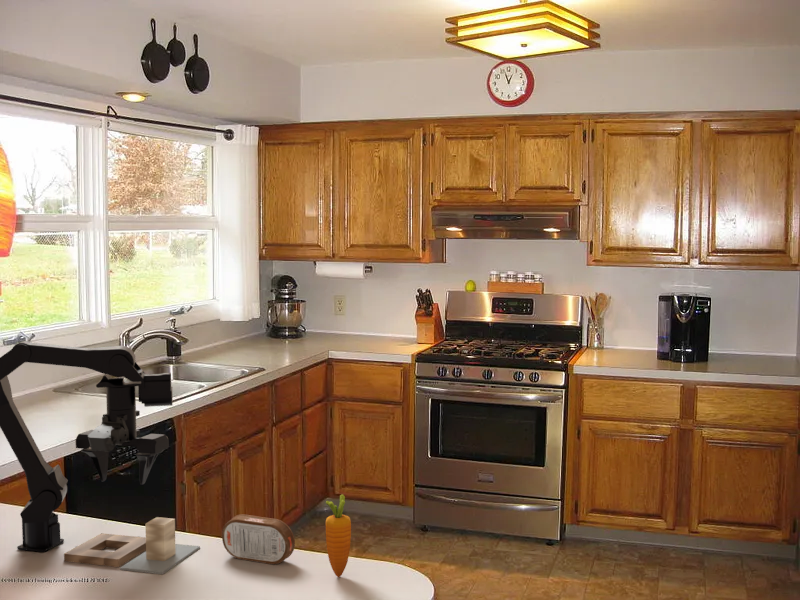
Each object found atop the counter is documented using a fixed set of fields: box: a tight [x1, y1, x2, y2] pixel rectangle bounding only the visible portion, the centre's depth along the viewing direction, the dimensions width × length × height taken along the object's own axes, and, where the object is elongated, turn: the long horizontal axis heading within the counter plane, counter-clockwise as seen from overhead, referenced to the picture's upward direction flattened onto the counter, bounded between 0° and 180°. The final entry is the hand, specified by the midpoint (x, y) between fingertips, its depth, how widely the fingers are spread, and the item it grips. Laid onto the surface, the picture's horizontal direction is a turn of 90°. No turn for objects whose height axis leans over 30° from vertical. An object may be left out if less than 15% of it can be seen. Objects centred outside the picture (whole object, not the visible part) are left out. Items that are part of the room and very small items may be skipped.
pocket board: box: [63, 532, 146, 568], centre depth 168 cm, size 12×12×2 cm
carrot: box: [325, 494, 352, 578], centre depth 154 cm, size 5×5×15 cm
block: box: [144, 516, 176, 561], centre depth 164 cm, size 4×4×7 cm
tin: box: [221, 513, 296, 565], centre depth 163 cm, size 15×3×8 cm, turn 69°
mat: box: [119, 543, 201, 575], centre depth 165 cm, size 9×14×1 cm, turn 165°
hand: (122, 482), depth 175 cm, fingers open, 9 cm apart
